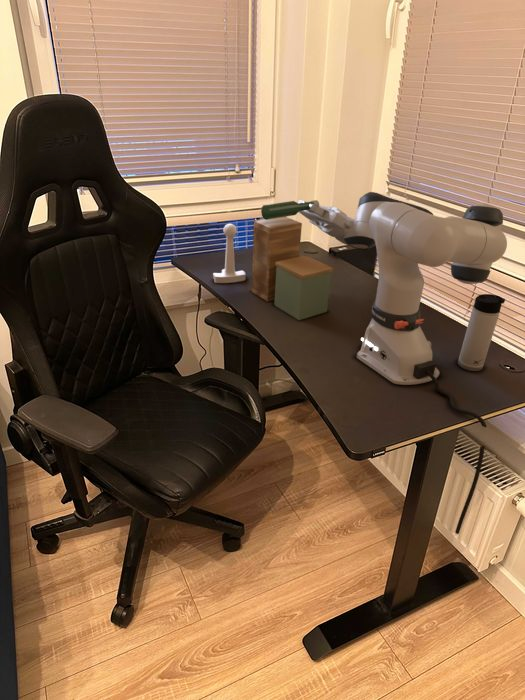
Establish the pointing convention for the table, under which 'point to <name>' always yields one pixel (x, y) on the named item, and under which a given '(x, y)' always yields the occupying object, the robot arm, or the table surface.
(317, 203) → the bottle
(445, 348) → the table surface
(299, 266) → the block
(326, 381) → the table surface
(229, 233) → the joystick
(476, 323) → the travel mug
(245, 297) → the table surface
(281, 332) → the table surface
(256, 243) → the shelf
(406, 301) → the robot arm
